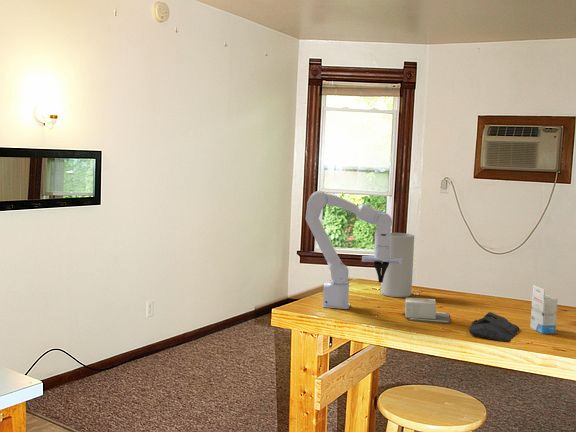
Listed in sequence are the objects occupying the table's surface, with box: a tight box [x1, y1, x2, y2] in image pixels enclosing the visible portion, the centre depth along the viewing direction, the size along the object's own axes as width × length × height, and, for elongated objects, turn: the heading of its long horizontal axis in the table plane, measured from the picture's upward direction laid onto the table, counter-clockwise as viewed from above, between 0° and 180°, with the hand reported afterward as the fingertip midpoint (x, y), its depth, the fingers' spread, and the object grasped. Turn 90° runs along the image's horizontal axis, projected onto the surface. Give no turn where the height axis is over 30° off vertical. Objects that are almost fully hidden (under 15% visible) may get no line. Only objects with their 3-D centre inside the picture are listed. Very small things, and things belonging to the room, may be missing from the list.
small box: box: [404, 297, 437, 319], centre depth 227 cm, size 8×6×10 cm
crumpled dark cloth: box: [468, 311, 521, 343], centre depth 211 cm, size 15×22×5 cm
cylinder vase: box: [380, 232, 415, 299], centre depth 264 cm, size 12×12×25 cm
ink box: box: [529, 284, 559, 335], centre depth 214 cm, size 9×5×15 cm, turn 5°
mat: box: [408, 311, 451, 325], centre depth 227 cm, size 14×14×1 cm
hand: (380, 282), depth 238 cm, fingers closed
